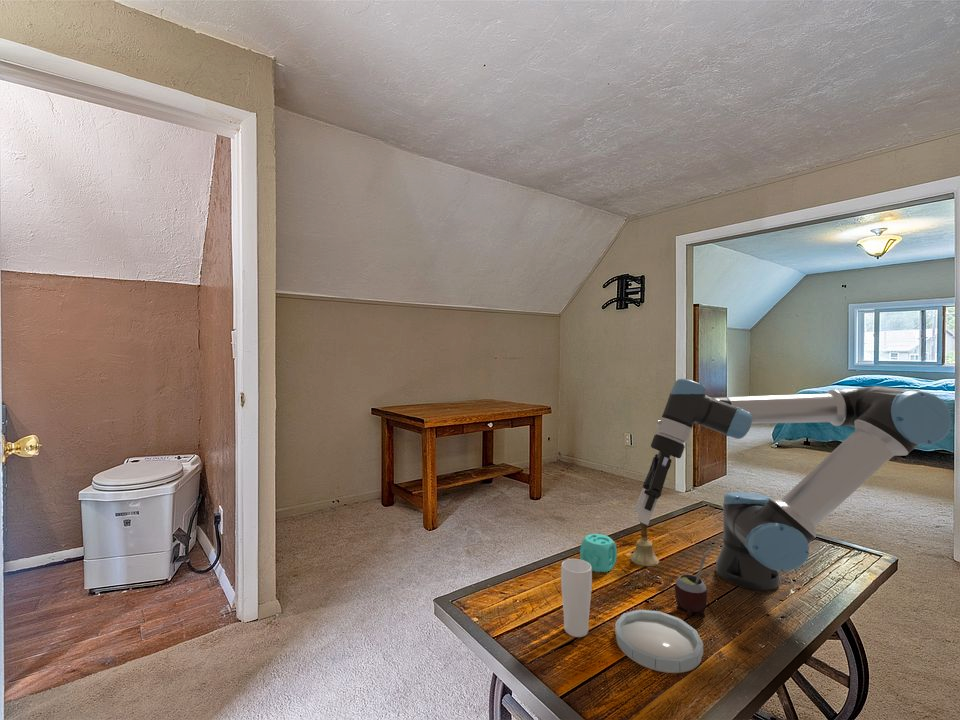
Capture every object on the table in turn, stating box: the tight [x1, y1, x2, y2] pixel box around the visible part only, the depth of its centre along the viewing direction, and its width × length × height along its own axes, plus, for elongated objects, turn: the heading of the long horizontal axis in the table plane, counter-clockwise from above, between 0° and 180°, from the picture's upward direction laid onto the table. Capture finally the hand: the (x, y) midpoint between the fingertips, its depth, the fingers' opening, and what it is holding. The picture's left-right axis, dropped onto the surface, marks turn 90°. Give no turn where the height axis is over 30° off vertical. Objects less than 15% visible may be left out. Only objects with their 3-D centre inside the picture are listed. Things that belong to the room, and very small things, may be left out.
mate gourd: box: [674, 547, 713, 620], centre depth 109 cm, size 8×8×15 cm
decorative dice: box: [579, 533, 618, 573], centre depth 132 cm, size 8×8×8 cm
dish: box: [614, 609, 704, 674], centre depth 97 cm, size 17×17×2 cm
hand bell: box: [629, 522, 660, 567], centre depth 135 cm, size 8×8×16 cm
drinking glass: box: [560, 558, 593, 638], centre depth 101 cm, size 7×7×15 cm
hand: (640, 517), depth 113 cm, fingers open, 13 cm apart
